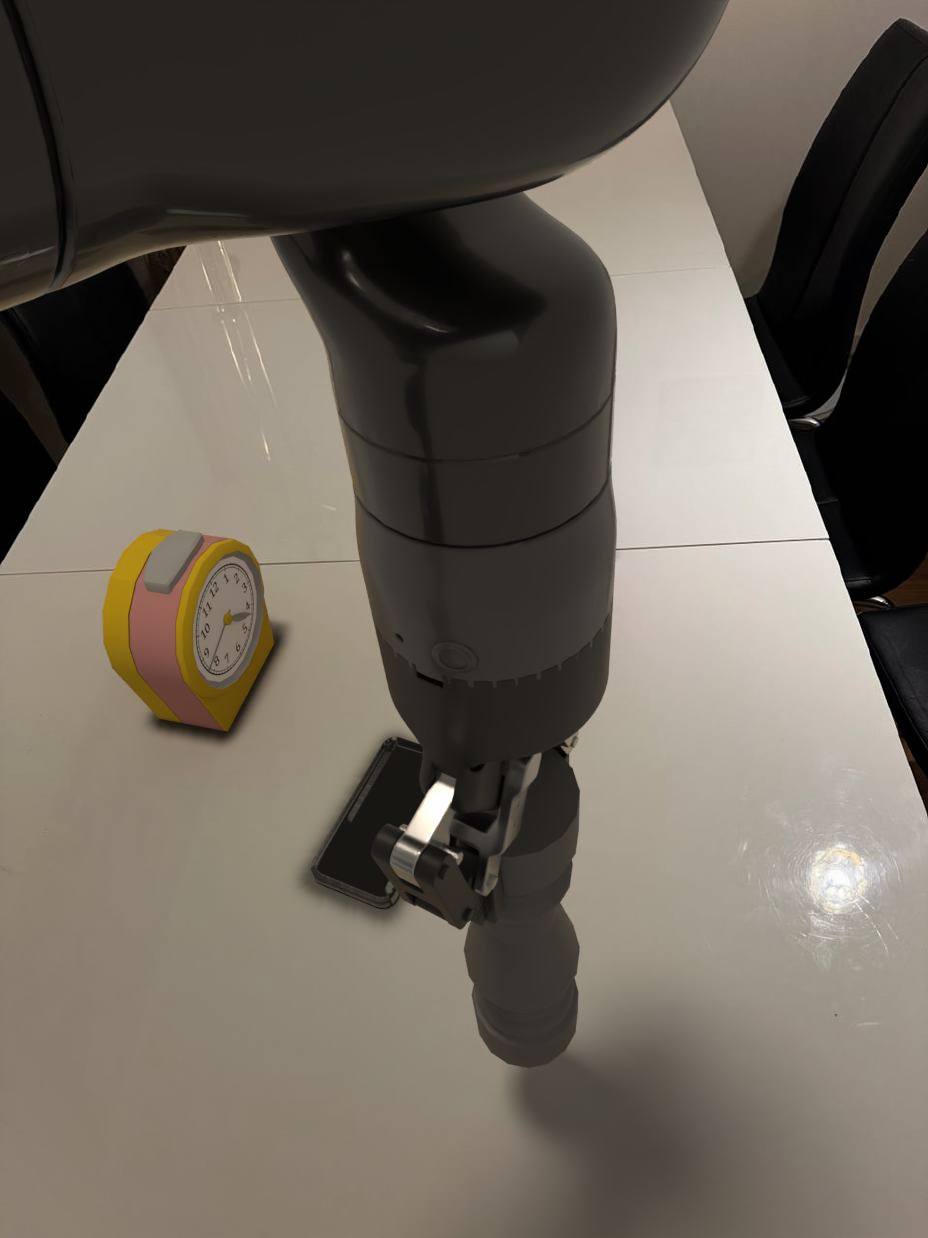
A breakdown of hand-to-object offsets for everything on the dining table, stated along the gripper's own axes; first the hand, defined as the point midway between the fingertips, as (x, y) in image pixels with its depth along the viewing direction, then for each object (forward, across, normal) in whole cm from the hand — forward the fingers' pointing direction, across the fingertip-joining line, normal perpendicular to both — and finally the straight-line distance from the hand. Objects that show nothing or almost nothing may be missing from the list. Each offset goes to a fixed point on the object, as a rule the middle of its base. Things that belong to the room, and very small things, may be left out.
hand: (512, 848), depth 40 cm
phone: (+34, -13, -20) cm, 42 cm away
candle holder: (+21, 0, 0) cm, 21 cm away
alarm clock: (+34, -19, -44) cm, 59 cm away
